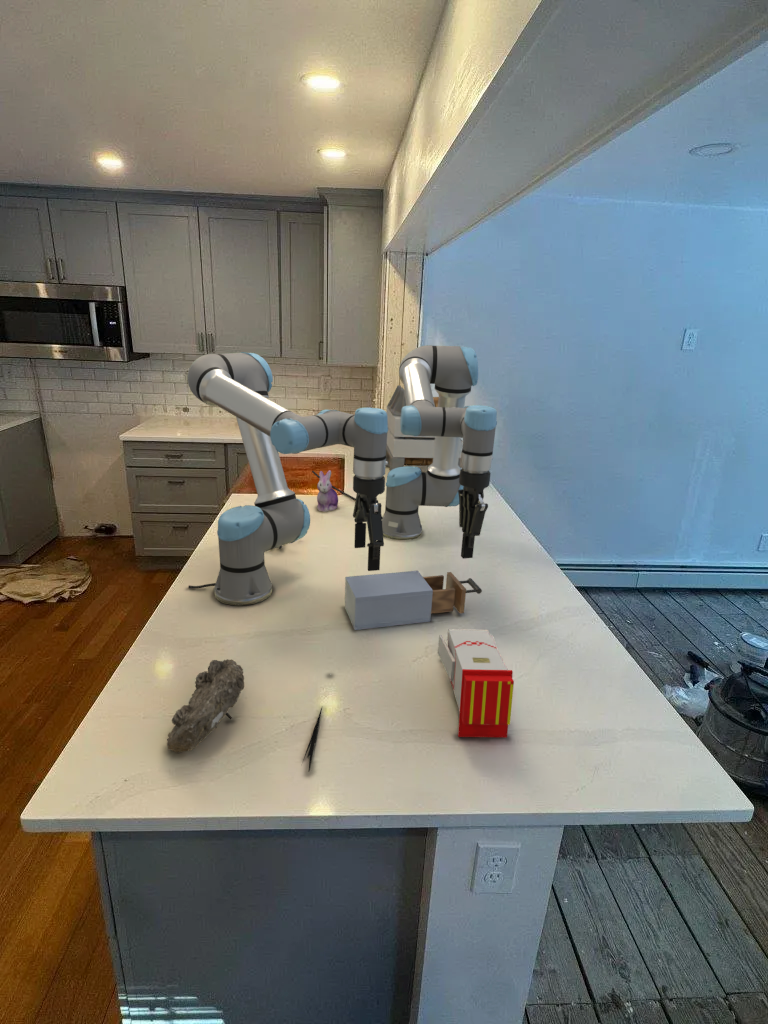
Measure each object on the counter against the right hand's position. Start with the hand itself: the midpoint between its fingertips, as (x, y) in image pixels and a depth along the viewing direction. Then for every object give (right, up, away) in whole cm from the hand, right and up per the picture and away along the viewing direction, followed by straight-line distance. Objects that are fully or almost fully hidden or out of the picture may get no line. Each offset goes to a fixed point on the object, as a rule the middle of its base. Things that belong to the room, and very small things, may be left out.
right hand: (466, 556), depth 148 cm
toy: (-4, -26, -29) cm, 39 cm away
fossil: (-54, -27, -40) cm, 73 cm away
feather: (-34, -28, -39) cm, 59 cm away
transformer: (-4, +31, +127) cm, 131 cm away
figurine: (-44, +13, +74) cm, 87 cm away
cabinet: (-21, -15, -1) cm, 26 cm away
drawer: (-8, -13, +2) cm, 16 cm away
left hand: (-26, 0, -8) cm, 27 cm away
